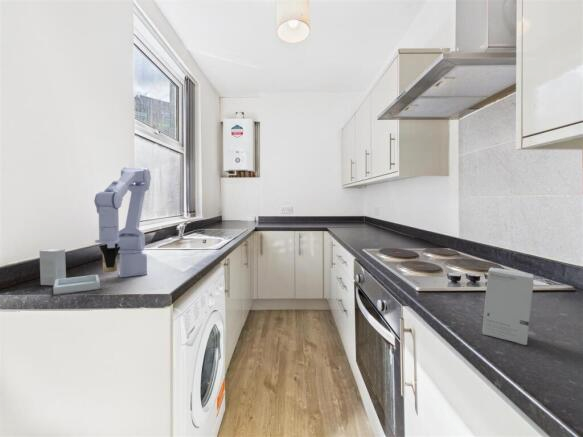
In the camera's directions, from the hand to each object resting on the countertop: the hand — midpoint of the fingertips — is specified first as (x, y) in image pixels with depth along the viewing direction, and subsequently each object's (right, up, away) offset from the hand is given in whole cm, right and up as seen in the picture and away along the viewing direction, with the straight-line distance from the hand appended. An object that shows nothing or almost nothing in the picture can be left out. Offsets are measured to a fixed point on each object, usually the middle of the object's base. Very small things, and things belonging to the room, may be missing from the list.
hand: (109, 266), depth 99 cm
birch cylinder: (0, -2, 0) cm, 2 cm away
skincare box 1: (-21, -7, +2) cm, 22 cm away
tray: (-10, -7, -2) cm, 12 cm away
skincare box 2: (+111, -10, -34) cm, 117 cm away
